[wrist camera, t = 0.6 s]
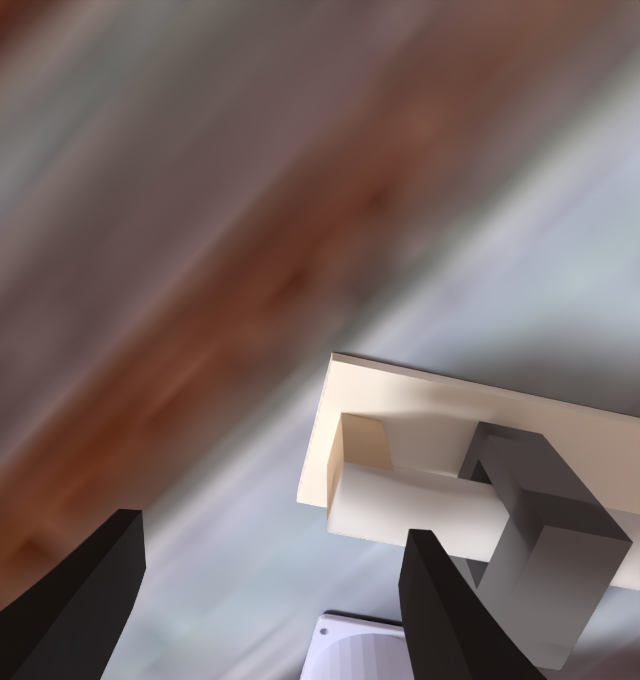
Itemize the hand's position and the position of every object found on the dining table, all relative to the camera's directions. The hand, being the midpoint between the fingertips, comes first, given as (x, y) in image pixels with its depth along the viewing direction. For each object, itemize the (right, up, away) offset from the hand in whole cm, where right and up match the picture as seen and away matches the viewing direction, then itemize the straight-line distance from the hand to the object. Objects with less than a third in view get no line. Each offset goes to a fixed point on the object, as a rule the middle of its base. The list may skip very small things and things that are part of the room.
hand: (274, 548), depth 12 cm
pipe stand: (+15, -2, +12) cm, 19 cm away
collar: (+9, -1, +9) cm, 13 cm away
